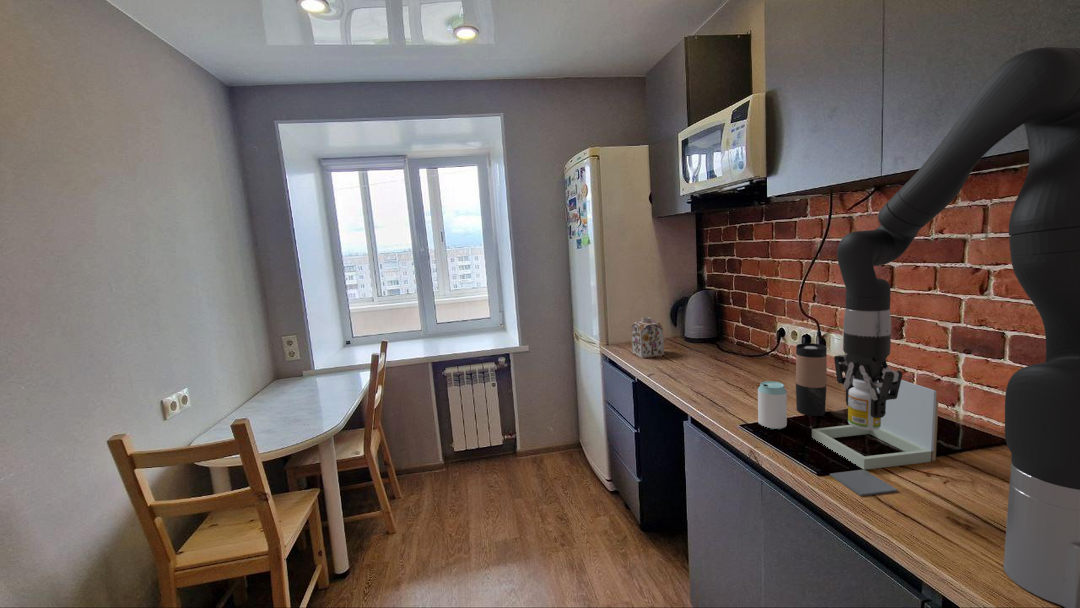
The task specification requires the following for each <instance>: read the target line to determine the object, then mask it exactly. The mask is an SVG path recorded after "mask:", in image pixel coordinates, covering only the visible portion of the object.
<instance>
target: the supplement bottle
mask: <svg viewBox="0 0 1080 608" xmlns="http://www.w3.org/2000/svg"><path fill="white" fill-rule="evenodd" d="M873 383H874V384H877V383H878V381H874V382H873ZM853 386H854V387H852V388H850V389H849V392H848V406H847V422H848V425H852V426H854V427H856V428H859V429H864V430H876V429H879V428H880V427H881V418H874V417H872V416H871V399H872V396H871V393H870V390H869V389H868V388H867V387H866V385H865V381H863V380H862V379H857V378H853ZM877 392H878V394H879V393H880V392H879V391H878V390H877Z"/></svg>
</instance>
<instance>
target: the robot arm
mask: <svg viewBox="0 0 1080 608" xmlns="http://www.w3.org/2000/svg"><path fill="white" fill-rule="evenodd" d="M1021 126H1024V130H1025V133H1026V140H1027V148H1028V155H1029V156H1028V157H1029V158H1028V160H1029V161H1028V169H1027V173H1026V177H1025V180H1024V182H1023V183H1022V187H1020V191H1019V193H1018V196H1017V198H1016V199H1015V203H1014V204H1013V207H1012V210H1011V213H1010V217H1009V221H1008V223H1009V224H1008V241H1009V243H1008V244H1009V253H1010V261H1011V266H1012V269H1013V273H1014V276H1015V277H1016V279H1017V281H1018V283H1019V284H1020V286H1021V288H1022V289H1023V291H1024V292H1025V294H1026V295H1027V297H1028V298H1029V299H1030V301H1031V303H1032V304H1033V305H1034V307H1035V309H1036V310H1037V312H1038V314H1039V316H1040V318H1041V321H1042V324H1043V330H1044V336H1045V361H1044V362H1041V363H1035V364H1029V365H1027V366H1024V367H1022V368H1020V369H1018V370H1016V371H1015V372H1014V373H1013V374H1012V375H1011V377H1010V378H1009V380H1008V383H1007V386H1006V389H1005V394H1004V395H1005V396H1004V438H1005V442H1006V445H1007V447H1008V450H1009V451H1010V453H1011V458H1010V459H1011V460H1010V462H1011V463H1010V475H1009V485H1008V486H1009V490H1008V498H1007V499H1008V500H1007V501H1008V502H1007V513H1006V526H1005V527H1006V530H1005V541H1004V554H1003V555H1004V557H1003V569H1004V570H1003V571H1004V572H1005V574H1006V575H1007V577H1008V578H1009V579H1010V580H1011V581H1013V582H1014V583H1015V584H1016V585H1017V586H1019V587H1021V588H1023V589H1024V590H1025V591H1026V592H1029V593H1031V594H1033V595H1034V596H1037V597H1039V598H1041V599H1044V600H1046V601H1048V602H1051V603H1054V604H1056V605H1059V606H1062V607H1064V608H1080V47H1062V46H1061V47H1060V46H1059V47H1058V46H1047V47H1037V48H1033V49H1029V50H1025V51H1023V52H1021V53H1018V54H1017V55H1015V56H1013V57H1011V58H1010V59H1008V60H1007V61H1005V62H1004V63H1003V64H1002V65H1001V66H999V67H998V68H997V69H996V70H995V71H994V72H993V74H991V76H990V77H989V78H988V79H987V80H986V82H984V84H983V85H982V87H981V88H980V90H979V91H978V92H977V93H976V94H975V96H974V97H973V99H971V102H970V103H969V104H968V106H967V107H966V108H965V110H964V111H963V112H962V114H961V115H960V116H959V118H958V119H957V121H956V122H955V123H954V124H953V125H952V127H951V128H950V130H949V131H948V132H947V134H946V135H945V136H944V138H943V139H942V140H941V142H940V143H939V144H938V145H937V146H936V148H935V149H934V151H933V152H932V153H931V155H930V156H929V157H928V159H927V160H926V161H925V162H924V164H923V165H922V166H921V167H920V168H919V169H918V170H917V171H916V172H915V174H913V176H911V177H910V178H909V180H908V181H907V182H905V184H904V185H903V186H902V187H901V188H900V189H898V191H897V192H895V194H894V195H893V196H892V197H891V198H890V199H889V200H888V201H887V202H886V203H885V204H884V205H883V206H882V207H881V209H880V210H879V212H878V214H877V218H878V219H877V220H878V222H879V224H880V225H879V226H878V227H876V228H875V229H869V230H857V231H851V232H849V233H846V234H845V236H843V237H842V238H841V240H840V241H839V244H838V246H837V248H836V249H837V250H836V259H837V263H838V268H839V270H840V273H841V276H842V281H843V283H844V286H845V311H844V315H843V316H844V317H843V333H842V335H843V337H842V339H843V340H842V341H843V344H842V351H843V352H844V353H845V354H842V355H835V356H834V357H833V359H834V367H835V375H836V381H837V383H838V384H842V385H843V388H844V389H845V402H846V406H847V407H848V392H849V389H850V388H852V387H854V386H853V378H857V379H862V380H863V381H865V385H866V387H867V388H868V389H869V390H870V393H871V396H872V399H871V416H872V417H874V418H882V417H884V416H885V414H886V411H885V410H886V400H891V399H896V398H897V395H898V391H899V387H900V383H901V380H903V379H902V378H903V372H902V371H901V370H893V369H891V368H890V367H889V366H888V363H887V357H888V356H890V354H891V341H892V339H891V338H892V335H891V334H892V316H891V293H892V292H891V284H890V282H889V281H888V280H886V279H883V278H879V277H877V275H876V271H875V266H884V265H885V266H886V265H887V264H890V263H892V262H894V261H896V260H897V259H898V258H899V257H901V256H902V255H903V254H904V253H905V252H906V250H907V249H908V247H909V246H910V245H911V243H913V241H914V239H915V238H916V236H917V235H918V234H919V232H920V231H921V229H923V228H924V227H925V226H926V225H927V224H929V222H931V221H932V220H933V219H934V218H935V217H937V216H938V215H939V214H940V213H942V212H943V210H944V209H946V208H947V207H948V206H949V205H950V203H952V202H953V200H955V198H956V197H957V195H959V193H960V192H961V191H962V188H963V187H964V185H965V184H966V181H967V180H968V178H969V176H970V174H971V173H972V171H973V170H974V167H976V165H977V164H978V163H979V162H980V160H981V159H982V158H983V157H984V156H985V155H986V153H988V152H989V151H990V150H991V149H992V148H993V147H994V146H996V145H997V144H998V143H999V142H1000V141H1002V140H1003V139H1005V138H1006V137H1007V136H1009V135H1010V134H1011V133H1012V132H1014V131H1015V130H1016V129H1017V128H1020V127H1021ZM843 373H844V375H843ZM843 376H844V377H843ZM874 381H879V382H878V383H877V384H874V383H873V382H874ZM877 388H879V391H880V393H879V394H878V392H877ZM889 391H890V393H889Z"/></svg>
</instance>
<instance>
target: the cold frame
mask: <svg viewBox="0 0 1080 608" xmlns="http://www.w3.org/2000/svg"><path fill="white" fill-rule="evenodd" d="M878 382H879V381H878ZM877 390H878V391H879V388H877ZM879 392H880V391H879ZM889 393H890V391H889ZM885 411H886V414H885V416H884V417H882V418H881V427H880V428H879V429H876V430H864V429H859V428H856V427H854V426H852V425H850V424H847V425H837V426H828V427H819V428H812V429H811V438H813V439H812V440H814V439H815V440H816V442H817V441H818V442H817V443H819V442H820V443H822V444H823V445H822V444H821V445H822V446H824V445H825V446H826V447H825V446H824V447H825V448H827V447H828V448H827V449H829V450H830V449H831V451H832V450H833V451H832V452H834V453H835V452H836V454H837V453H838V454H837V455H839V456H840V455H841V456H840V457H842V456H843V457H842V458H844V457H845V458H846V460H847V459H848V460H847V461H849V462H850V461H851V462H850V463H852V464H854V465H855V464H856V465H855V466H857V467H859V468H861V470H866V471H867V470H872V469H882V468H890V467H898V466H907V465H914V464H915V465H917V464H923V463H924V464H925V463H931V462H935V461H936V458H937V440H938V439H937V437H938V419H939V418H938V416H939V414H938V413H939V401H938V400H937V390H934V389H931V388H928V387H925V386H923V385H919V384H916V383H913V382H910V381H907V380H903V379H901V383H900V387H899V391H898V395H897V398H896V399H891V400H886V410H885ZM862 435H871V436H873V437H875V438H876V439H879V440H880V441H883V442H884V443H886V444H889V445H890V446H893V447H895V448H897V449H898V450H900V452H893V453H892V452H891V453H884V454H883V453H882V454H875V455H874V454H873V455H866V456H864V455H863V454H861V453H859V452H857V451H856V450H854V449H852V448H851V447H848V446H847V445H846V444H843V443H842V442H839V441H838V440H836V439H835V438H843V437H845V438H846V437H853V436H862ZM815 440H814V441H815ZM820 443H819V444H820ZM845 458H844V459H845Z"/></svg>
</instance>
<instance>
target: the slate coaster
mask: <svg viewBox="0 0 1080 608" xmlns="http://www.w3.org/2000/svg"><path fill="white" fill-rule="evenodd" d="M829 476H830V477H832V478H833V479H835V480H836V481H837V482H839V483H840V484H842V485H843V486H844V487H846V488H847V489H849V490H850V491H852V492H853V493H855V494H856V495H858V496H859V497H863V496H864V497H866V496H872V495H873V496H874V495H881V494H890V493H896V492H898V489H897V488H896V487H894V486H893V485H890V484H889V483H887V482H885V480H882V479H880V478H879V477H877V476H876V475H874V474H872V473H871V472H869V471H867V469H866V470H864V469H857V470H848V471H840V472H833V473H829Z"/></svg>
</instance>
